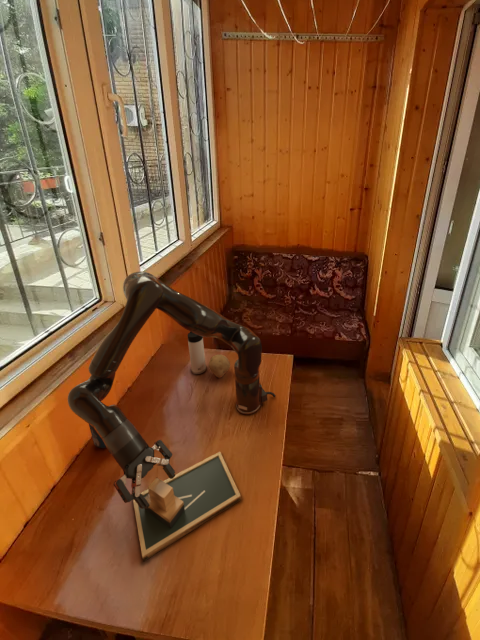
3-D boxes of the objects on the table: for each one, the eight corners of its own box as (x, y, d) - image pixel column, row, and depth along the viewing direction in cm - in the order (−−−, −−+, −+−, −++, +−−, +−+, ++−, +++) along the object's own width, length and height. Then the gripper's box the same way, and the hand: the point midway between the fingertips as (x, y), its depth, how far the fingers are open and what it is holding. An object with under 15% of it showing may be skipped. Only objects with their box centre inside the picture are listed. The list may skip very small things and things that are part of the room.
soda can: (120, 430, 110) (114, 404, 106) (113, 448, 104) (107, 421, 100) (99, 433, 109) (92, 407, 105) (91, 451, 102) (83, 424, 98)
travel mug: (202, 375, 136) (198, 337, 130) (189, 373, 138) (184, 335, 131) (209, 366, 142) (205, 328, 135) (195, 364, 143) (191, 327, 137)
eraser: (144, 509, 85) (139, 487, 82) (159, 492, 89) (154, 470, 86) (170, 529, 81) (166, 506, 78) (184, 510, 85) (181, 487, 82)
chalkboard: (220, 455, 102) (220, 451, 101) (240, 500, 89) (240, 495, 88) (133, 501, 88) (132, 497, 88) (143, 561, 76) (142, 556, 75)
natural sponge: (224, 365, 143) (222, 346, 140) (234, 375, 137) (233, 356, 134) (206, 374, 137) (204, 355, 134) (216, 385, 131) (215, 365, 128)
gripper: (104, 462, 76) (143, 517, 75) (152, 419, 88) (186, 466, 87) (95, 467, 80) (132, 519, 79) (142, 425, 92) (175, 470, 91)
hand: (160, 491), depth 83 cm, fingers open, 8 cm apart
